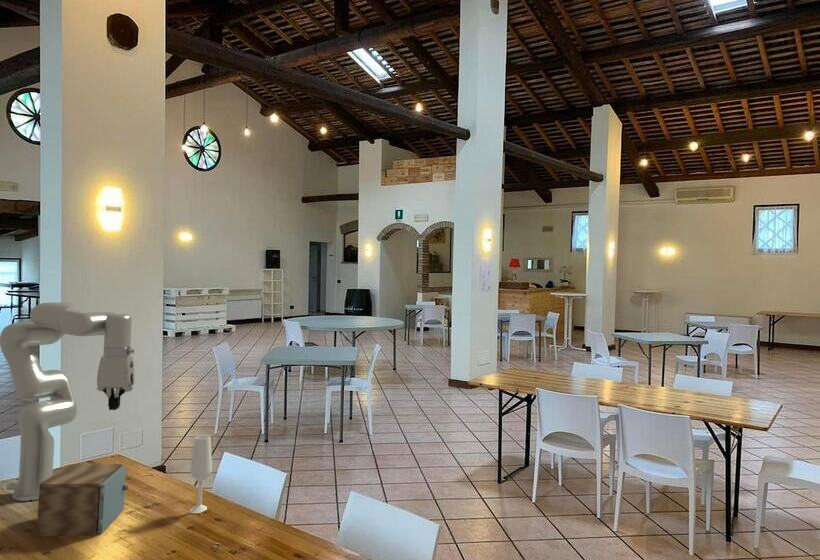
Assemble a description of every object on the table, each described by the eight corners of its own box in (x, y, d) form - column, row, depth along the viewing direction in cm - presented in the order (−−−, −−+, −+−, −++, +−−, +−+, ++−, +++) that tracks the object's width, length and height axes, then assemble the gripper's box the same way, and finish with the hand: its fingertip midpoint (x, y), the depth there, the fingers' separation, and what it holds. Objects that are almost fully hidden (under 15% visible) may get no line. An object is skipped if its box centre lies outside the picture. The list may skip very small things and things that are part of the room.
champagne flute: (185, 509, 173) (189, 436, 174) (206, 504, 178) (209, 433, 178) (192, 516, 168) (196, 441, 169) (213, 511, 173) (216, 438, 173)
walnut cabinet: (36, 536, 151) (39, 484, 152) (66, 511, 168) (68, 464, 169) (96, 535, 154) (98, 483, 154) (119, 510, 170) (122, 464, 171)
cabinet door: (96, 534, 153) (99, 485, 154) (119, 509, 170) (122, 466, 171) (105, 533, 154) (108, 485, 154) (127, 509, 171) (129, 465, 171)
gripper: (145, 351, 174) (142, 407, 174) (99, 350, 174) (96, 406, 173) (135, 354, 167) (132, 412, 166) (86, 353, 166) (83, 411, 166)
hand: (113, 409), depth 170 cm, fingers closed
